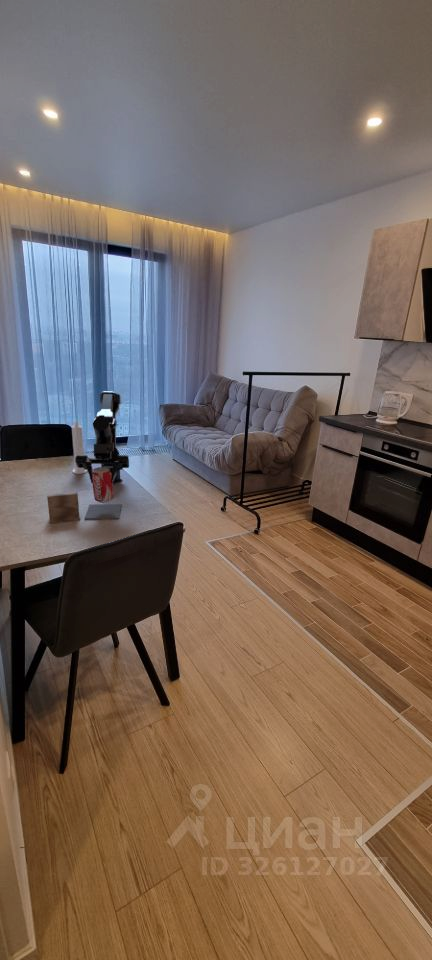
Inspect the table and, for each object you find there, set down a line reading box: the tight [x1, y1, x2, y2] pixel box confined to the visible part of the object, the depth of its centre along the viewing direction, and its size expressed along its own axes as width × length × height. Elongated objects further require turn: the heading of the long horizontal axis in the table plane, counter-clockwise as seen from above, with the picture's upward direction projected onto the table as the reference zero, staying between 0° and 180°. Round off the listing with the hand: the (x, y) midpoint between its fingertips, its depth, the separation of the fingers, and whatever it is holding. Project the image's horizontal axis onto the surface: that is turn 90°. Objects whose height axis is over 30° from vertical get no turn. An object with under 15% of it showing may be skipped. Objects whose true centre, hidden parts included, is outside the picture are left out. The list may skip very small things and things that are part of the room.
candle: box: [71, 419, 88, 475], centre depth 183 cm, size 7×7×25 cm
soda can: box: [92, 466, 114, 504], centre depth 143 cm, size 7×7×12 cm
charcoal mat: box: [84, 503, 122, 521], centre depth 147 cm, size 12×12×1 cm
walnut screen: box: [46, 491, 81, 524], centre depth 139 cm, size 10×4×9 cm, turn 112°
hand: (101, 482), depth 141 cm, fingers closed on soda can, 7 cm apart
